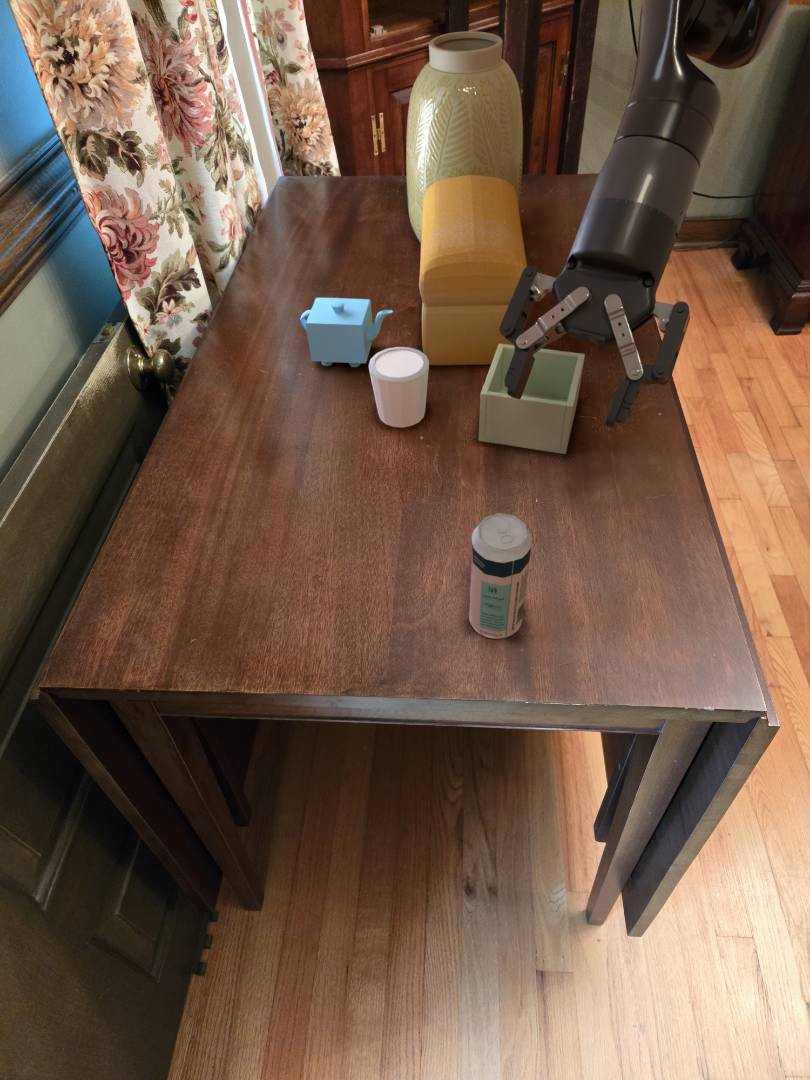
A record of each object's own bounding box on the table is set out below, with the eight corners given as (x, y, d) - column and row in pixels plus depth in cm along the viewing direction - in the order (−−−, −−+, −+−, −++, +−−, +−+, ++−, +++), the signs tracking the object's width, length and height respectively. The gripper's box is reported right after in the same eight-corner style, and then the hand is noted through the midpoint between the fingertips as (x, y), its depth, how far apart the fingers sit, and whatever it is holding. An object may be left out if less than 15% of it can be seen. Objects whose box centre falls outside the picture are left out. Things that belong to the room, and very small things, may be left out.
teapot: (399, 344, 97) (396, 292, 91) (392, 370, 93) (388, 318, 87) (311, 340, 98) (303, 289, 93) (301, 366, 94) (292, 314, 89)
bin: (577, 401, 87) (585, 353, 82) (565, 454, 81) (573, 406, 76) (496, 389, 89) (498, 343, 84) (478, 440, 83) (480, 393, 78)
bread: (522, 365, 92) (532, 251, 81) (421, 366, 93) (417, 254, 82) (511, 269, 108) (518, 164, 97) (425, 272, 109) (422, 167, 98)
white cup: (364, 405, 88) (359, 355, 83) (415, 389, 90) (413, 339, 85) (387, 437, 84) (383, 387, 79) (440, 419, 86) (439, 369, 80)
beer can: (509, 593, 68) (518, 503, 59) (530, 633, 65) (543, 544, 56) (461, 607, 67) (462, 518, 58) (480, 648, 64) (485, 560, 55)
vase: (391, 232, 118) (379, 37, 98) (484, 208, 123) (490, 16, 103) (439, 278, 108) (436, 69, 88) (538, 250, 112) (557, 45, 92)
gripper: (540, 179, 57) (469, 378, 59) (725, 213, 52) (641, 431, 54) (558, 219, 64) (495, 396, 66) (724, 252, 58) (649, 444, 61)
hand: (560, 411), depth 60 cm, fingers open, 8 cm apart
